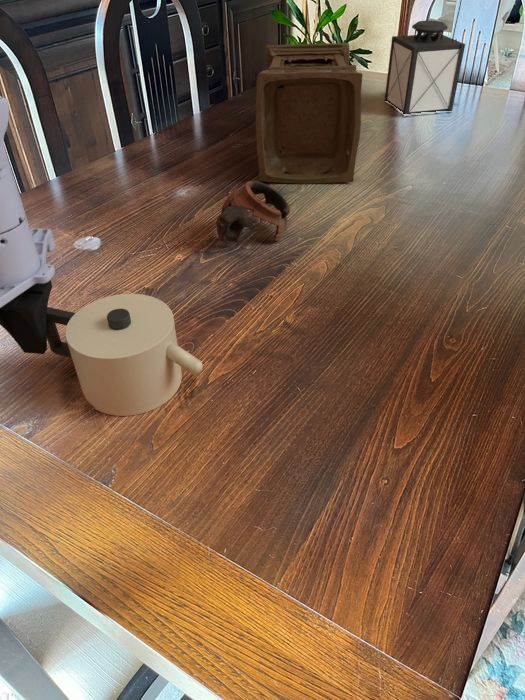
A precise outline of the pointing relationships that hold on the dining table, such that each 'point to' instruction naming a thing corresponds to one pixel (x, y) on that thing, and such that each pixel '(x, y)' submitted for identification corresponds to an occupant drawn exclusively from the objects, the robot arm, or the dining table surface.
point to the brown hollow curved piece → (244, 200)
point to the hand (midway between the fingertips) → (35, 350)
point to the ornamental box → (308, 114)
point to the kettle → (122, 352)
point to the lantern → (424, 69)
